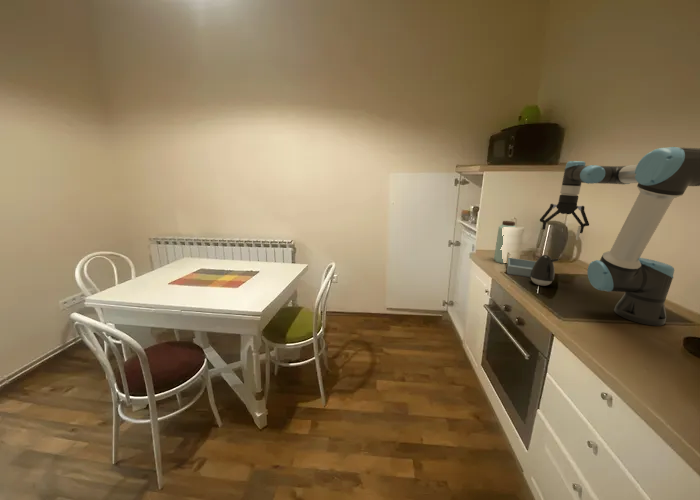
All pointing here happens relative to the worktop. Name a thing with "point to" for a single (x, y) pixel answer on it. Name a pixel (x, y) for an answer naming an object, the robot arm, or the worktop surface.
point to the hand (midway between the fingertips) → (560, 237)
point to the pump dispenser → (543, 271)
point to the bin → (520, 267)
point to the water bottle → (501, 240)
